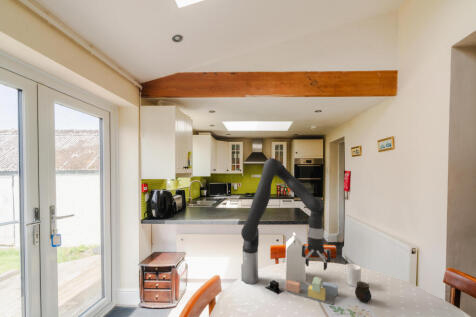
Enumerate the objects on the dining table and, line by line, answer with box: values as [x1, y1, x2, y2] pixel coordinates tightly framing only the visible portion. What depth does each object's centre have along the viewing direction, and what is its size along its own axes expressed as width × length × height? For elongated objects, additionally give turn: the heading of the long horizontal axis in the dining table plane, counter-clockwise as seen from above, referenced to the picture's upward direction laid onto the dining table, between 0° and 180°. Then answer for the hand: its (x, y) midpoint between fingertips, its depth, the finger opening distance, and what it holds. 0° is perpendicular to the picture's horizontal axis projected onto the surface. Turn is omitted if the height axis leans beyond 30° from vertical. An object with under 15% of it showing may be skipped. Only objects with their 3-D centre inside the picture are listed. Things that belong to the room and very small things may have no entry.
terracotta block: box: [285, 280, 301, 293], centre depth 120 cm, size 7×4×4 cm, turn 60°
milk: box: [285, 232, 307, 283], centre depth 136 cm, size 12×12×26 cm
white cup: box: [345, 263, 362, 288], centre depth 126 cm, size 8×8×10 cm
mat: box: [288, 281, 336, 306], centre depth 118 cm, size 22×13×1 cm, turn 60°
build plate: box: [264, 279, 285, 295], centre depth 121 cm, size 12×7×5 cm, turn 41°
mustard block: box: [308, 284, 326, 301], centre depth 113 cm, size 8×4×4 cm, turn 60°
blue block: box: [322, 281, 339, 297], centre depth 117 cm, size 7×4×4 cm, turn 60°
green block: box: [311, 276, 323, 292], centre depth 114 cm, size 7×4×4 cm, turn 150°
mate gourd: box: [354, 281, 372, 304], centre depth 111 cm, size 7×8×10 cm
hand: (316, 267), depth 114 cm, fingers open, 8 cm apart
